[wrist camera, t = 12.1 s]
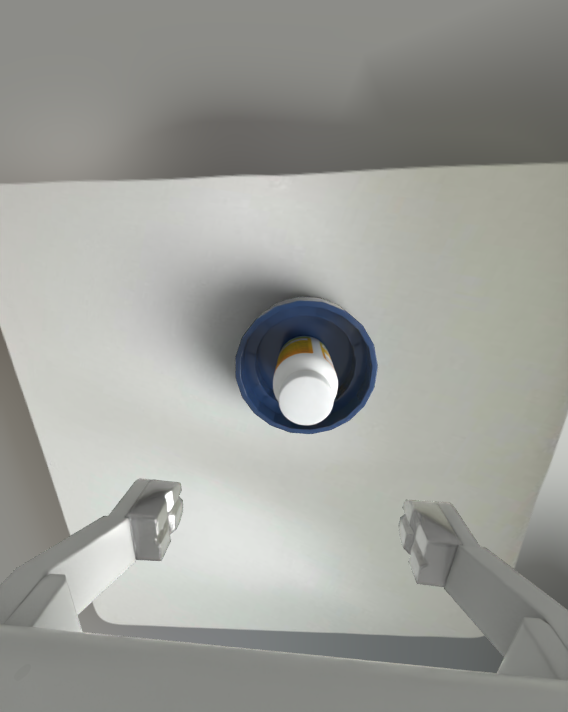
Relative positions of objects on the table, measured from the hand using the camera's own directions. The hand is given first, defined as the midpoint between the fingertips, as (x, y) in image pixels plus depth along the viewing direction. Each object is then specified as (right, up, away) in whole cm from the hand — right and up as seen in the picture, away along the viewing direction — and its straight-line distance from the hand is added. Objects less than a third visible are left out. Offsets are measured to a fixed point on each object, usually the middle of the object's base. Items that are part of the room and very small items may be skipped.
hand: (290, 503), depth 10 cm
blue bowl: (+2, +5, +19) cm, 20 cm away
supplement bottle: (+2, +5, +19) cm, 20 cm away
